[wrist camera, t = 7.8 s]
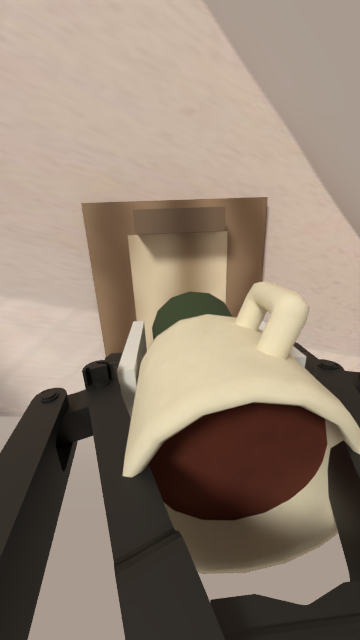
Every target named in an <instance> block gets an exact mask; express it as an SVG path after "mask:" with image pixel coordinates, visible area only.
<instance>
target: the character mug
mask: <svg viewBox="0 0 360 640" xmlns="http://www.w3.org/2000/svg"><path fill="white" fill-rule="evenodd" d="M309 309H310V308H309V307H308V305H307V304H306V303H305V301H304V300H303V299H302V298H301V296H300V295H299V294H298V293H296V292H294V291H292V290H289V289H287V288H284V287H282V286H279V285H277V284H274V283H272V282H269V281H266V282H258V283H254V284H253V286H252V288H251V289H250V291H249V293H248V294H247V296H246V298H245V300H244V303H243V305H242V307H241V309H240V312H239V314H238V316H237V318H236V317H233V316H232V315H231V313H230V311H229V309H228V308H227V306H226V304H225V303H224V302H223V301H221V300H220V299H218V298H216V297H215V296H213V295H211V294H210V293H202V292H191V291H189V292H186V293H183V294H180V295H178V296H175V297H172V298H170V299H169V300H168V301H167V302H166V303H165V304H164V305H163V306H162V307H161V308H160V309H159V310H158V311H157V314H156V317H155V320H154V323H153V326H152V333H153V340H154V341H153V343H152V344H151V346H150V348H149V349H148V351H147V352H146V354H145V355H144V357H143V359H142V361H141V364H140V370H139V376H138V382H137V388H136V394H135V399H134V405H133V411H132V417H131V423H130V428H129V434H128V440H127V446H126V452H125V459H124V467H123V476H125V477H133V476H135V475H137V474H139V473H141V472H142V471H143V470H144V469H145V468H146V466H147V465H148V464H149V466H150V469H151V471H152V474H153V476H154V479H155V481H156V484H157V487H158V489H159V492H160V494H161V497H162V499H163V502H164V504H165V507H166V510H167V512H168V515H169V517H170V520H171V522H172V525H173V527H174V529H175V530H177V531H179V532H180V534H181V535H182V537H183V539H184V541H185V543H186V545H187V548H188V550H189V553H190V555H191V558H192V560H193V562H194V565H195V567H196V570H197V572H199V573H205V574H206V573H245V572H250V571H254V570H258V569H262V568H266V567H270V566H275V565H279V564H283V563H286V562H288V561H290V560H293V559H295V558H297V557H299V556H301V555H303V554H305V553H307V552H309V551H312V550H314V549H316V548H318V547H320V546H321V545H323V544H324V543H325V542H327V541H328V540H329V539H331V538H332V537H333V536H335V535H336V534H337V533H338V529H337V526H336V522H335V518H334V515H333V511H332V507H331V504H330V500H329V495H328V462H329V455H330V448H332V447H333V446H335V445H337V444H338V443H340V442H341V441H343V440H344V441H345V442H346V443H347V445H348V446H349V447H350V448H351V449H352V450H353V451H354V452H356V453H358V454H360V428H359V426H358V425H357V423H356V422H355V420H354V419H353V417H352V416H351V414H350V413H349V412H348V410H347V409H346V408H345V407H344V405H343V404H342V403H341V402H340V400H339V399H338V398H336V397H335V396H334V395H333V394H332V393H331V392H330V391H329V390H328V389H326V388H325V387H324V386H323V385H322V384H321V383H320V382H319V381H318V380H316V379H315V377H314V376H313V375H312V374H310V373H309V372H308V371H307V370H306V369H305V368H304V367H303V366H302V365H301V364H300V363H299V362H298V361H297V360H296V359H295V358H294V357H293V356H291V355H290V354H289V353H290V351H291V349H292V347H293V345H294V343H295V341H296V340H297V338H298V336H299V334H300V332H301V330H302V328H303V326H304V325H305V323H306V320H307V316H308V313H309ZM267 311H268V312H270V313H271V315H270V318H269V320H268V322H267V324H266V326H265V329H264V331H261V330H260V329H259V326H260V324H261V322H262V320H263V318H264V316H265V314H266V312H267Z"/></svg>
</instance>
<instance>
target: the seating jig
mask: <svg viewBox="0 0 360 640" xmlns="http://www.w3.org/2000/svg"><path fill="white" fill-rule="evenodd" d="M267 198H268V197H258V198H228V199H197V200H166V201H136V202H105V203H81V204H82V211H83V217H84V223H85V229H86V236H87V242H88V248H89V254H90V260H91V267H92V273H93V279H94V285H95V292H96V298H97V304H98V310H99V317H100V323H101V329H102V335H103V342H104V348H105V354H106V357H107V356H108V355H110V354H111V353H122V352H123V351H124V348H125V345H126V342H127V339H128V336H129V333H130V330H131V327H132V324H133V322H134V321H144V324H145V335H146V346H147V351H148V349H149V348H150V346H151V344H152V343H153V341H154V340H153V333H152V326H153V323H154V320H155V317H156V314H157V311H158V310H159V309H160V308H161V307H162V306H163V305H164V304H165V303H166V302H167V301H168V300H169V299H170V298H172V297H175V296H178V295H180V294H183V293H186V292H189V291H191V292H202V293H210V294H211V295H213V296H215V297H216V298H218V299H220V300H221V301H223V302H224V303H225V304H226V306H227V308H228V309H229V311H230V313H231V315H232V316H233V317H236V318H237V316H238V314H239V312H240V309H241V307H242V305H243V303H244V300H245V298H246V296H247V294H248V293H249V291H250V289H251V288H252V286H253V284H254V283H258V282H261V280H262V266H263V252H264V239H265V225H266V212H267Z"/></svg>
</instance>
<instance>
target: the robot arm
mask: <svg viewBox="0 0 360 640" xmlns="http://www.w3.org/2000/svg"><path fill="white" fill-rule="evenodd" d="M265 326H266V323H265V322H264V321H262V322H261V324H260V326H259V329H260V330H261V331H264V329H265ZM146 352H147V346H146V335H145V324H144V321H134V322H133V324H132V327H131V330H130V333H129V336H128V339H127V342H126V345H125V348H124V351H123V352H122V353H111V354H110V355H108V356H107V357H106V358H105V360H100V361H95V362H92V363H89V364H88V365H86V366H85V367H84V368H83V370H82V372H83V377H84V382H85V387H86V389H85V390H83V391H81V392H78V393H74V394H70V395H67V392H66V390H65V389H63V388H52V389H47V390H45V391H42V392H41V393H39V394H38V395H36V396H35V397H34V398H33V400H32V401H31V403H30V405H29V406H28V408H27V410H26V411H25V413H24V415H23V416H22V418H21V419H20V421H19V423H18V425H17V426H16V428H15V429H14V431H13V433H12V435H11V436H10V438H9V439H8V441H7V443H6V445H5V446H4V448H3V450H2V451H1V453H0V640H27V639H28V635H29V631H30V627H31V623H32V619H33V615H34V612H35V608H36V604H37V600H38V596H39V592H40V587H41V584H42V580H43V576H44V572H45V568H46V564H47V560H48V556H49V552H50V548H51V545H52V541H53V536H54V533H55V529H56V525H57V521H58V517H59V512H60V509H61V505H62V501H63V497H64V493H65V489H66V485H67V481H68V477H69V474H70V469H71V466H72V462H73V458H74V454H75V450H76V446H77V441H78V440H81V439H84V438H87V437H90V436H94V442H95V448H96V455H97V461H98V467H99V473H100V479H101V485H102V492H103V498H104V504H105V510H106V516H107V522H108V528H109V534H110V541H111V547H112V552H113V559H114V569H115V577H116V583H117V589H118V596H119V602H120V608H121V614H122V621H123V627H124V633H125V640H360V454H358V453H356V452H354V451H353V450H352V449H351V448H350V447H349V446H348V445H347V443H346V442H345V441H344V440H343V441H341V442H340V443H338V444H337V445H335V446H333V447H332V448H330V455H329V462H328V495H329V500H330V504H331V507H332V511H333V515H334V518H335V522H336V526H337V529H338V533H339V537H340V540H341V544H342V548H343V551H344V555H345V558H346V562H347V566H348V570H349V575H350V582H345V583H342V584H341V585H339V586H338V587H336V588H335V589H333V590H331V591H330V592H328V593H327V594H325V595H323V596H322V597H320V598H319V599H317V600H316V601H314V602H313V603H311V604H309V605H299V604H295V603H290V602H286V601H282V600H277V599H273V598H269V597H265V596H261V595H256V594H252V595H245V596H236V597H228V598H221V599H214V600H211V604H210V602H209V599H208V596H207V594H206V592H205V589H204V587H203V584H202V582H201V580H200V577H199V575H198V572H197V570H196V567H195V565H194V562H193V560H192V558H191V555H190V553H189V550H188V548H187V545H186V543H185V541H184V539H183V537H182V535H181V534H180V532H179V531H177V530H175V529H174V527H173V525H172V522H171V520H170V517H169V515H168V512H167V510H166V507H165V504H164V502H163V499H162V497H161V494H160V492H159V489H158V487H157V484H156V481H155V479H154V476H153V474H152V471H151V469H150V466H149V464H148V465H147V466H146V468H145V469H144V470H143V471H142V472H141V473H139V474H137V475H135V476H133V477H125V476H123V467H124V459H125V452H126V446H127V440H128V434H129V428H130V423H131V417H132V411H133V405H134V399H135V394H136V388H137V382H138V376H139V370H140V364H141V361H142V359H143V357H144V355H145V354H146ZM289 354H290V355H291V356H293V357H294V358H295V359H296V360H297V361H298V362H299V363H300V364H301V365H302V366H303V367H304V368H305V369H306V370H307V371H308V372H309V373H310V374H312V375H313V376H314V377H315V379H316V380H318V381H319V382H320V383H321V384H322V385H323V386H324V387H325V388H326V389H328V390H329V391H330V392H331V393H332V394H333V395H334V396H335V397H336V398H338V399H339V400H340V402H341V403H342V404H343V405H344V407H345V408H346V409H347V410H348V412H349V413H350V414H351V416H352V417H353V419H354V420H355V422H356V423H357V425H358V426H359V428H360V372H350V371H345V370H344V369H343V367H342V366H341V365H339V364H337V363H335V362H333V361H329V360H324V359H317V358H316V357H315V356H314V355H312V354H311V353H310V352H308V351H307V350H306V349H305V348H303V347H302V346H301V345H299V344H298V343H296V342H295V343H294V345H293V347H292V349H291V351H290V353H289Z"/></svg>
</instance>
